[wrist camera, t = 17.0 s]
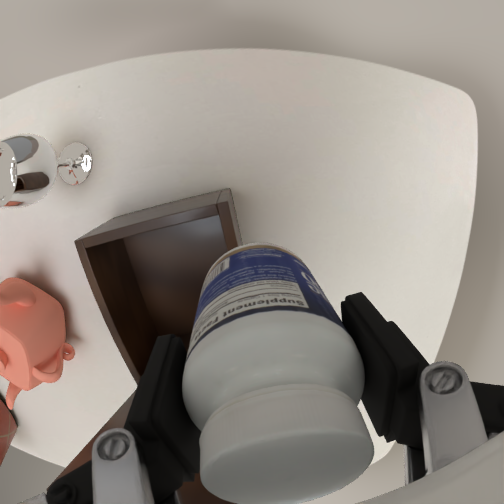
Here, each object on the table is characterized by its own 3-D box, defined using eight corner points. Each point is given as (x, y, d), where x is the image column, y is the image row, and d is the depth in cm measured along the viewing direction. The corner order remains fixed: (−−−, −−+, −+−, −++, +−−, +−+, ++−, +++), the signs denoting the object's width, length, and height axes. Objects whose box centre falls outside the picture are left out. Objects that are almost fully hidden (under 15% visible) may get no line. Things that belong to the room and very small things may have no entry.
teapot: (40, 366, 33) (7, 413, 22) (-9, 284, 28) (-56, 319, 18) (105, 349, 32) (72, 411, 21) (48, 247, 27) (-12, 286, 17)
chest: (113, 217, 27) (73, 240, 19) (230, 188, 27) (227, 200, 19) (156, 340, 32) (139, 388, 24) (260, 322, 32) (267, 372, 24)
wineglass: (47, 177, 25) (-30, 195, 14) (66, 128, 24) (-11, 123, 12) (84, 200, 26) (11, 229, 15) (106, 149, 25) (33, 150, 13)
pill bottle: (318, 325, 15) (389, 485, 6) (219, 347, 15) (213, 520, 6) (303, 227, 13) (423, 366, 4) (188, 253, 13) (120, 427, 4)
